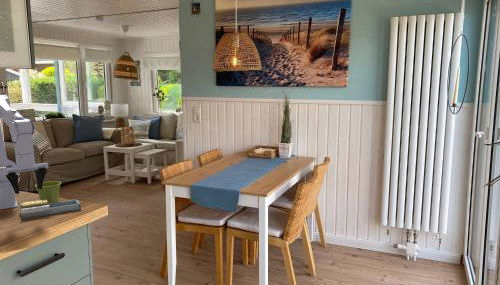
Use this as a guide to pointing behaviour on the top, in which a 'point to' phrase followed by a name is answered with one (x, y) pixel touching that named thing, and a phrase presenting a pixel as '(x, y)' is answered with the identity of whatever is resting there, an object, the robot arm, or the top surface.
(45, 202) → the brass chip
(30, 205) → the brass chip
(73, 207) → the tray
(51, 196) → the plant pot
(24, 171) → the robot arm
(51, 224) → the top surface
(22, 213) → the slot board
